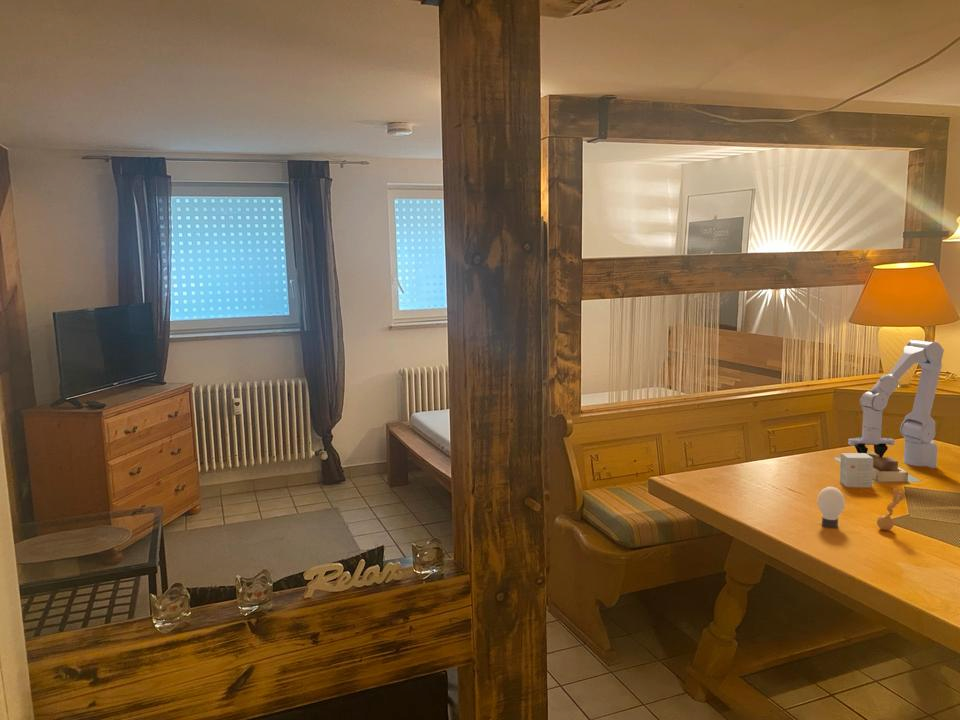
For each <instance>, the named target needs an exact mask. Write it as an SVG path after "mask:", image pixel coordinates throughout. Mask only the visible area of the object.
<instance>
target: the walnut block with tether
mask: <svg viewBox="0 0 960 720" xmlns="http://www.w3.org/2000/svg"><path fill="white" fill-rule="evenodd" d="M867 454H868V455H869V456H871V457H873V467H874V468H875V469H877V470H879V471H898V467H899V461H898V460H896V459H894V458H893V457H890V456H887V457H886V456H885V457H884V456H883V457H879V455H878V454H876V453H874V451H867Z"/></svg>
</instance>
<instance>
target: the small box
mask: <svg viewBox="0 0 960 720" xmlns="http://www.w3.org/2000/svg"><path fill="white" fill-rule="evenodd" d="M840 458H841V463H840V462H839V463H840V464H839V465H840V466H839V482H840V484H842V485H843V486H844V487H846V488H873V482H872V476H873V457H871V456H869V455H868V454H866V453H858V452H856V453H855V452H854V453H853V452H846V453H845V452H844V453H843V452H841V453H840Z"/></svg>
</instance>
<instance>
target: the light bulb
mask: <svg viewBox="0 0 960 720" xmlns="http://www.w3.org/2000/svg"><path fill="white" fill-rule="evenodd" d="M845 501H846V500H845V497H844V494H843V493H842V491H840V489H838V488H837V487H835V486H827V487H824V488H822V489H821V491H820V492H819V494H818V496H817V506H818V509H819V512H821V514H822V517H821V526H823V527H825V528H826V527H827V528H838V526H839V525H838V524H839V516H840V515H841V514H842V513H843V511H844V509H845Z"/></svg>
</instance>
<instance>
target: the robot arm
mask: <svg viewBox="0 0 960 720" xmlns="http://www.w3.org/2000/svg"><path fill="white" fill-rule="evenodd" d="M902 351H903V353H902V355H901V356H900V358H899V359H898V360H897V362H896V363H895V364H894V366H893V368H892V369H891V370H890V372H889V373H888V374H883V375H881V376H880V377H879V378H878V380H877V382H876V383H875V384H874V386H872V387H871V389H870V390H869V391H866V392H864V393H862V395H861V397H860V399H859V404H860V406H861V411H862V428H861V430H862V431H861V437H855V438H854V437H853V438H848V440H847V441H848V442H847V445H849V446H852V447H854V448H855V449H856V453H866V454H867V452H869V448H868V447H867V446H871V445H872V446H873V449H874V450H873V452H874V453H876V454H878V455H879V457H884V455H885V453H886V452H887V451H888V448H889V447H888V446H889V445H890V446H894V445H895V439H894V438H891V437H890V438H887V437H882V428H883V427H882V423H883V410H884V409H885V408H887V406H888V403H889V400H890V396H891V395H892V394H893V393H894V391H895V390H896V389H897V388H898V387H899V385H900V382H899V380H900V379H901V378H902V377H903V376H904V375H905V374H906V372H907V371H909V370H910V369H911V368H912V367H913V366H914V365H915V364H918V366H920V367H921V371H920V375H919V380H918V384H917V389H916V394H915V396H914V401H913V406H912V410H911V411H910V412H909V413H908V414H906V415H904V419H903V421H902V422H901V424H900V427H899V430H900V435H902V436H903V439H904V450H903V464H905V465H908V466H911V467H912V466H913V467H928V468H929V469H938V466H937V464H938V463H937V461H938V446H937V444H936V442H935V441H933V440H934V438H935V436H936V432H937V431H936V420H934V418H933V417H932V416H931V414H932V413H931V412H932V409H933V405H934V400H935V397H936V391H937V387H938V385H939V380H940V379H939V378H940V374H941V370H942V365H943V364H942V359H943V357H944V352H945V349H944V348H943V347H942V345H941V344H940V343H938V342H936V341H926V340H918V339H911V340H909V341H908V342H906V345H905V346H904V347H903V350H902Z"/></svg>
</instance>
